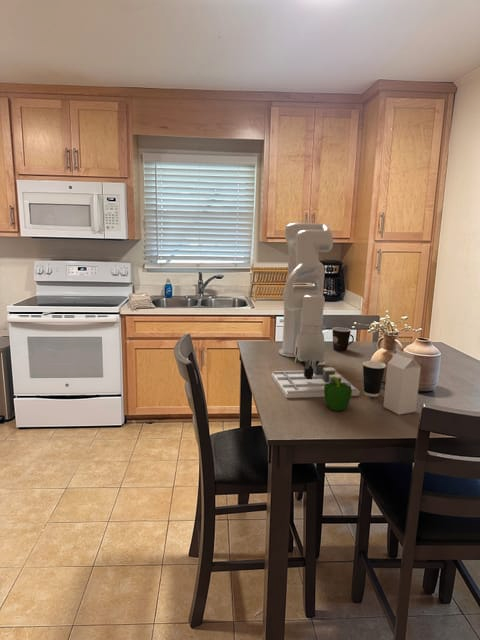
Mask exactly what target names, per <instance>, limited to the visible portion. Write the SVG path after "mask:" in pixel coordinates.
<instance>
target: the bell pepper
mask: <svg viewBox="0 0 480 640" xmlns="http://www.w3.org/2000/svg"><path fill="white" fill-rule="evenodd" d="M331 379H332V380H335V381H336V383H335V382H330V383H329V384H326V385H325V386H324V395H325V397H324V400H325V404H326V406H327V407H328V408H329V409H330V410H332V411H335V412H342V411H344V410H346V409H347V408H348V406H349V403H350V401H351V397H352V396H351V393H352V389H351V386H348V385H347V384H346V383H339V380H338V379H337V378H336V377H331Z"/></svg>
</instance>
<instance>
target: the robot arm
mask: <svg viewBox="0 0 480 640" xmlns="http://www.w3.org/2000/svg"><path fill="white" fill-rule="evenodd" d="M284 229H285V230H284V236H285V237H284V238H285V241H286V244H287V248H288V259H287V260H288V261H287V262H288V263H287V264H288V265H287V279H286V283H285V287H284V289H283V290H282V300H283V301H282V302H283V327H282V343H281V344H282V347H281V348H280V349H279V350H278V354H279V355H280V356H284V357H288V358H295V359H294V362H295V363H296V364H297V365H302V367H304V369H303V371H304V376H305V378H306V379H307V380H309V379H312V376H313V370H314V368H315V366H316V365H318V364H319V363H323V362H325V359H324V358H325V356H326V355H325V354H326V353H325V351H326V350H325V348H326V347H325V334H324V332H323V331H324V330H326V329H327V326H326V325H324V324H323V319H324V307H325V303H326V302H325V296H324V284H325V267H324V264H323V263H322V262H320V261H319V253H328V252H330V251H332V249H333V246H334V238H333V234H332V232H331V229H330V228H329V227H328V225H327V224H326V223H320V222H319V223H318V222H315V223H314V222H312V223H311V222H292V223H289V224H287V225H286V226H285V228H284ZM294 283H299V284H294ZM303 283H304V284H305V285H304V284H303ZM307 284H309V285H307ZM311 284H312V285H311Z"/></svg>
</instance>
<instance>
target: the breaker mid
mask: <svg viewBox="0 0 480 640" xmlns="http://www.w3.org/2000/svg"><path fill="white" fill-rule="evenodd" d="M335 370H336V369H335V368H334V367H325V368H323V381H324V382H329V375H335Z"/></svg>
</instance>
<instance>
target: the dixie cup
mask: <svg viewBox="0 0 480 640" xmlns="http://www.w3.org/2000/svg"><path fill="white" fill-rule="evenodd" d="M361 365H362V371H363V376H362V377H363V381H362V382H363V391H364V393H363V394H364V395H365V396H368V397H378V396H379V394H380V393H381V388H382V383H383V378H384V375H385V374H384V373H385V370H386V368H387V364H386V363H385V362H380V361H377V360H376V361H375V360H364V361H363V362H362V364H361Z"/></svg>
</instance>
